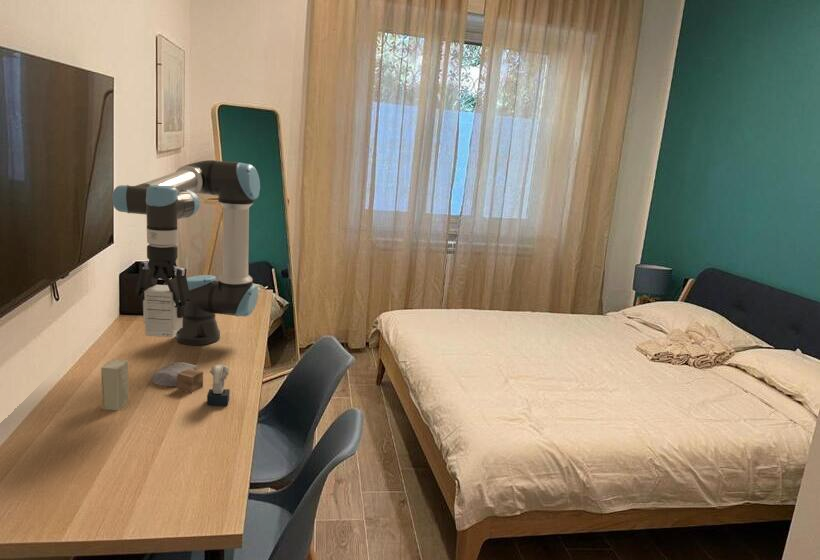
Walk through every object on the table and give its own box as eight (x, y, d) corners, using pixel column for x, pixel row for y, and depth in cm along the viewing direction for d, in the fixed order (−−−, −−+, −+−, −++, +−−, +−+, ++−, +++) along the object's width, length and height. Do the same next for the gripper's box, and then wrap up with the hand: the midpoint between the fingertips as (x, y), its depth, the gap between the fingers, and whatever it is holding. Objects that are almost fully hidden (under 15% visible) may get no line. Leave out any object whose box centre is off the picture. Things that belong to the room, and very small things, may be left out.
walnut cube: (189, 383, 179) (189, 368, 178) (202, 387, 178) (203, 371, 177) (177, 389, 175) (177, 373, 173) (191, 393, 173) (191, 377, 172)
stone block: (149, 389, 177) (179, 388, 176) (146, 373, 177) (177, 372, 175) (172, 376, 189) (200, 374, 187) (169, 361, 188) (198, 360, 186)
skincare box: (113, 400, 164) (112, 358, 162) (129, 401, 164) (128, 360, 162) (101, 410, 158) (100, 367, 156) (117, 411, 158) (116, 368, 156)
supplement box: (153, 327, 166) (153, 283, 163) (180, 329, 167) (180, 285, 164) (144, 336, 159) (143, 290, 156) (172, 337, 160) (172, 292, 157)
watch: (230, 396, 173) (230, 360, 170) (226, 408, 165) (227, 371, 163) (210, 396, 172) (210, 360, 169) (205, 408, 164) (206, 371, 162)
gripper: (118, 240, 157) (120, 321, 162) (186, 252, 150) (186, 336, 155) (139, 237, 164) (141, 315, 169) (206, 248, 157) (205, 329, 162)
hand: (163, 325), depth 162 cm, fingers closed on supplement box, 9 cm apart
